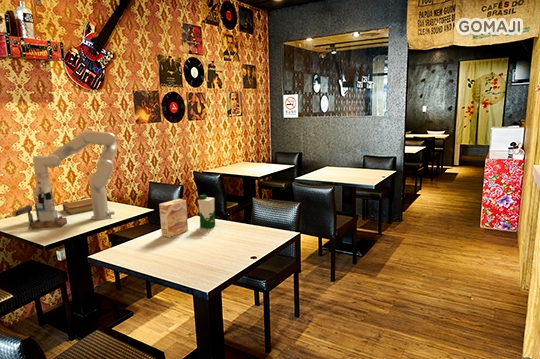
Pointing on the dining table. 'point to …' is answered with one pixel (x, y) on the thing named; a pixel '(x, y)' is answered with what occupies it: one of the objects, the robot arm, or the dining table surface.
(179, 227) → the coffeecake box
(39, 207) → the beverage box
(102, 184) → the robot arm
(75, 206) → the diary
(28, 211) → the post
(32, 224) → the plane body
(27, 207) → the lever
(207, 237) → the dining table surface
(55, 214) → the light grey block
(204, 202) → the milk carton
